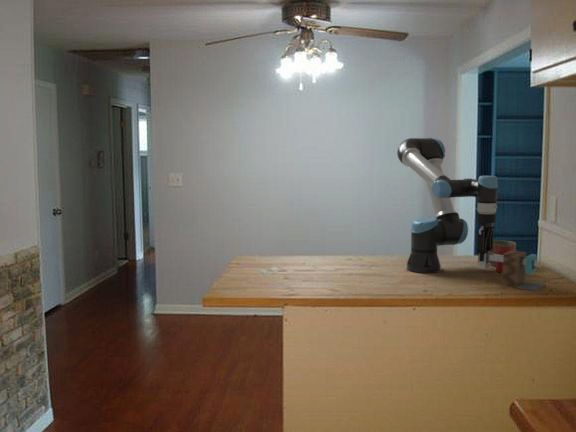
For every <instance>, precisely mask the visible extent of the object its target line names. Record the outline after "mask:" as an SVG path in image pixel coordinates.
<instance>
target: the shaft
mask: <svg viewBox="0 0 576 432" xmlns="http://www.w3.org/2000/svg"><path fill="white" fill-rule="evenodd" d="M491 252H492V250H486V252H485V254H486V263H490V262H491V261H499V262H503V256H504V255H498V254H491ZM477 254H478V255H477V257H478V259H477V263H479V253H477ZM521 265H526V258H522V257H521ZM532 266H536V267H537V266H538V258H537V259H534V260H532Z"/></svg>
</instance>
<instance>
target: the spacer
mask: <svg viewBox="0 0 576 432" xmlns="http://www.w3.org/2000/svg"><path fill="white" fill-rule="evenodd" d="M534 259H537V260H538V257H537V253H536V254H535V253H531V254H529V255H526V266H525V275H532V274H534V273H536V272H537V266H532V260H534Z"/></svg>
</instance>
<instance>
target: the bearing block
mask: <svg viewBox="0 0 576 432" xmlns="http://www.w3.org/2000/svg"><path fill="white" fill-rule="evenodd" d="M521 257H522V258H526V257H527V252H526V251H521V250H515V251H513V250H511V251H509V252H506V253H504V256H503V273H502V280H501V281H502V283H501V285H502V286H506V287H513V288H517V286H519V285H521V284H523V283H524V282H526V281H525V280H526V274H525V267H526V265H521Z"/></svg>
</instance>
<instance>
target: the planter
mask: <svg viewBox="0 0 576 432" xmlns="http://www.w3.org/2000/svg"><path fill="white" fill-rule="evenodd" d="M502 244H504V245H511V248H512V250H513V251H516V250H517V249H516V247H517V243H516V242H515V241H512V240H502V239H500V240H498V239H493V249H491V250H493V252H491V254H497V248H498V245H502ZM490 266H493V267H496V261H491V262H490Z"/></svg>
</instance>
